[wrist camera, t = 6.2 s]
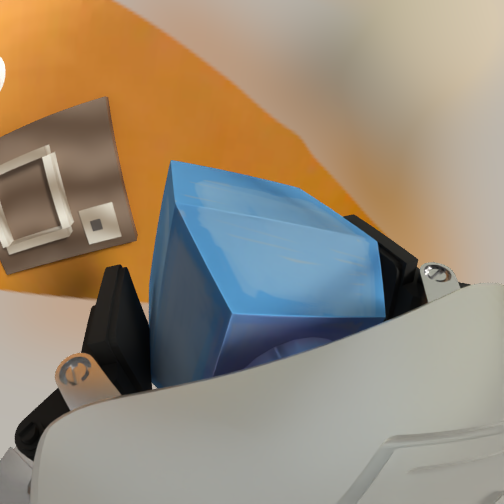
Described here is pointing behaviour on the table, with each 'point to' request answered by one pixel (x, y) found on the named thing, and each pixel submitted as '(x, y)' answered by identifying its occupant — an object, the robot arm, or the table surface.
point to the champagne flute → (2, 73)
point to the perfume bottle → (252, 275)
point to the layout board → (62, 188)
